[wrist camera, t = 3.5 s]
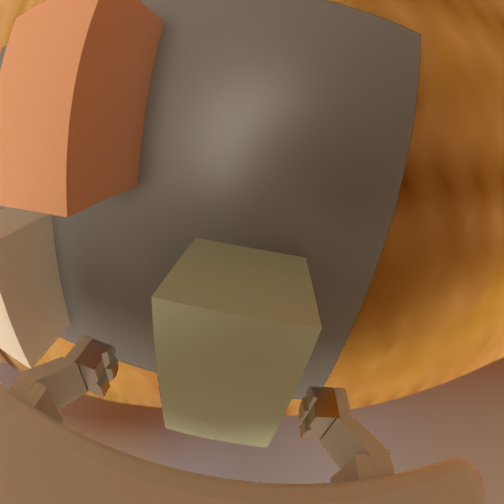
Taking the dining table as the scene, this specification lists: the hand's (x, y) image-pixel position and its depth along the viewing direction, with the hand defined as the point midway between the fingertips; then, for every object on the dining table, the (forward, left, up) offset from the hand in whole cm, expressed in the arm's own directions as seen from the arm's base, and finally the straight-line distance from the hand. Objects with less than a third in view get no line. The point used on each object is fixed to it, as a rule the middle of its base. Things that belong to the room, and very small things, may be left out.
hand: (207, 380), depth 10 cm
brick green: (-1, 0, -4) cm, 4 cm away
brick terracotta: (+7, -10, -4) cm, 13 cm away
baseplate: (+6, -5, -5) cm, 10 cm away
